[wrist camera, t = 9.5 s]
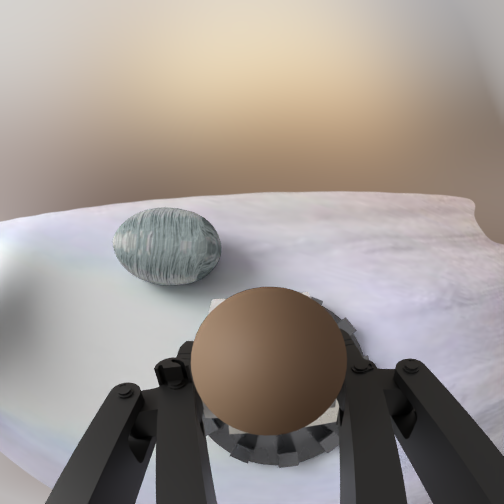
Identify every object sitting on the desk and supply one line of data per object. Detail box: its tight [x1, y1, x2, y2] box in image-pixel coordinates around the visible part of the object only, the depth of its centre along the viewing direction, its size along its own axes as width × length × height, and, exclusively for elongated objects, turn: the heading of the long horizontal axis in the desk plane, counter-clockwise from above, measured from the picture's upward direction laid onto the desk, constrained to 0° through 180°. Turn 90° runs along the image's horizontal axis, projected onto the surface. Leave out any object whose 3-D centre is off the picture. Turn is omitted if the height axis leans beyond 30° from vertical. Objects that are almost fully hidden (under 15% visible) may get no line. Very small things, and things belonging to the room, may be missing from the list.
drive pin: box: [191, 287, 347, 436], centre depth 12 cm, size 4×4×12 cm
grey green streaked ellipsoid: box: [113, 208, 221, 285], centre depth 34 cm, size 14×10×10 cm
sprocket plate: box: [202, 296, 369, 468], centre depth 28 cm, size 20×20×4 cm
